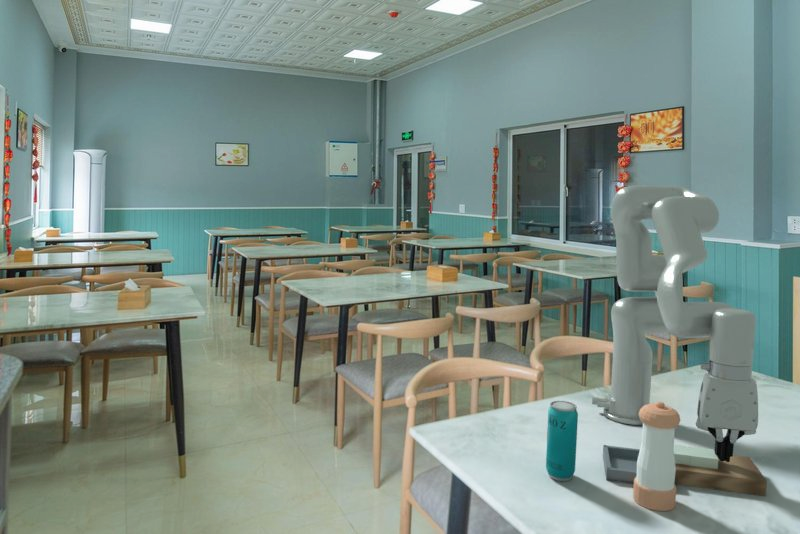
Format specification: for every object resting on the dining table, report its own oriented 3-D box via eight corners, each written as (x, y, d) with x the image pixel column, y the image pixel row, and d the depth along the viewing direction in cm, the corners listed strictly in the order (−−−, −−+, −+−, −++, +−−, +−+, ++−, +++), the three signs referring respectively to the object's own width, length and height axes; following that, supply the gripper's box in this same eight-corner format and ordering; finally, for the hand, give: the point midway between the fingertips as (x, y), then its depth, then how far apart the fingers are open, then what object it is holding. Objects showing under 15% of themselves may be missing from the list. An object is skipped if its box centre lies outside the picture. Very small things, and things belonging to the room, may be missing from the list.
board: (674, 483, 115) (675, 469, 115) (665, 460, 125) (666, 447, 125) (765, 496, 111) (767, 481, 110) (748, 470, 121) (749, 457, 121)
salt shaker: (663, 491, 112) (669, 395, 110) (682, 511, 105) (690, 409, 102) (626, 491, 112) (632, 395, 109) (643, 511, 104) (649, 409, 102)
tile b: (663, 461, 118) (663, 452, 118) (659, 451, 123) (660, 442, 122) (690, 465, 117) (690, 455, 116) (685, 454, 121) (685, 445, 121)
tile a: (690, 465, 116) (690, 455, 116) (685, 455, 121) (686, 446, 121) (717, 468, 115) (718, 459, 115) (711, 458, 120) (712, 449, 120)
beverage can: (552, 467, 122) (555, 398, 120) (579, 475, 118) (582, 404, 116) (540, 476, 117) (543, 405, 115) (567, 485, 114) (571, 412, 112)
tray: (606, 480, 116) (607, 468, 116) (602, 455, 128) (603, 445, 127) (674, 489, 113) (675, 477, 112) (664, 463, 124) (665, 452, 124)
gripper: (692, 372, 113) (686, 462, 115) (779, 379, 109) (771, 472, 111) (684, 362, 121) (679, 447, 122) (765, 369, 117) (758, 456, 119)
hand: (723, 458), depth 117 cm, fingers closed
